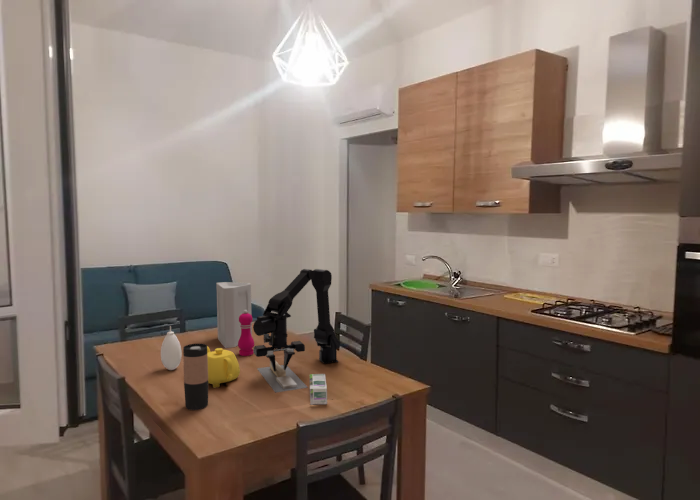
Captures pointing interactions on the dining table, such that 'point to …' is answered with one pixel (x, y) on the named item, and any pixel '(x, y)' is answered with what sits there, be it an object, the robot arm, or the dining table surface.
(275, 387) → the charcoal board
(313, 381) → the syrup box
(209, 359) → the teapot
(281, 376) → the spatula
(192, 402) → the travel mug
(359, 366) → the dining table surface
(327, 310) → the robot arm
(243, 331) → the pepper mill
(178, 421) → the dining table surface
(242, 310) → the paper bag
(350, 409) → the dining table surface
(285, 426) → the dining table surface
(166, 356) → the air blower bulb
